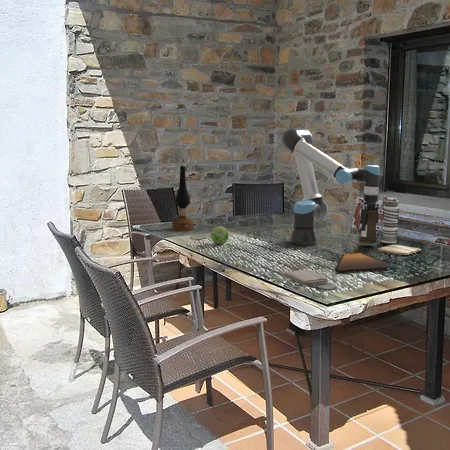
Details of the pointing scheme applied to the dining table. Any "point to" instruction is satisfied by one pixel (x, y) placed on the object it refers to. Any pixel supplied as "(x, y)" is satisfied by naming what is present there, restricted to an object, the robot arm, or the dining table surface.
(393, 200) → the decorative candle
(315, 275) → the washcloth
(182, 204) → the oil lamp
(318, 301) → the dining table surface
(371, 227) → the container
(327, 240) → the dining table surface
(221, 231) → the decorative ball
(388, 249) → the oak board
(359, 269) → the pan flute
